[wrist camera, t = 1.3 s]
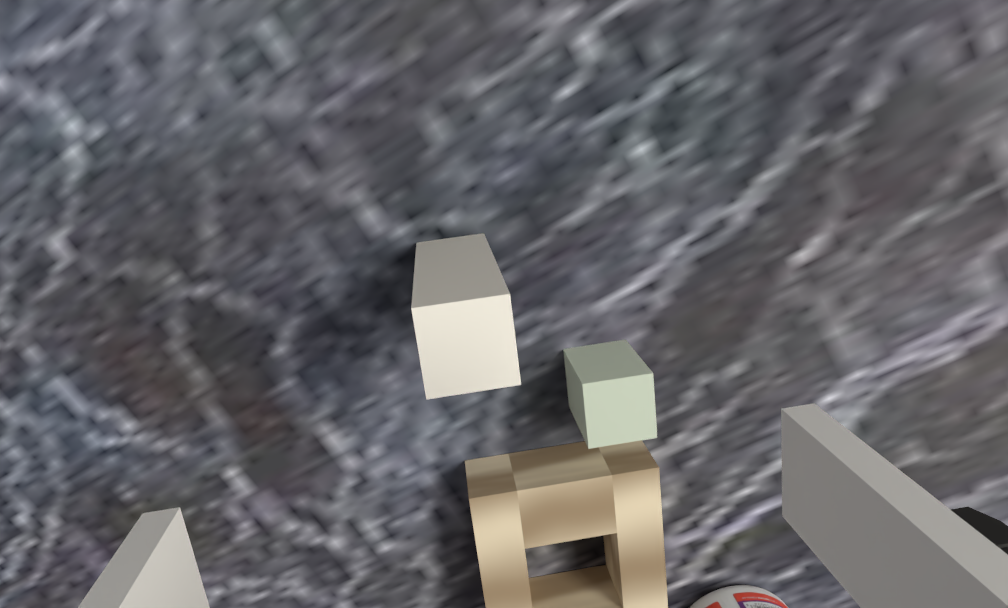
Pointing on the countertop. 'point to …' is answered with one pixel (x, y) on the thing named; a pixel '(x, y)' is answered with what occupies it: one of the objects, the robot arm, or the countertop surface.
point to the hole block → (569, 525)
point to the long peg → (462, 318)
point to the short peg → (610, 393)
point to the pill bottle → (739, 598)
